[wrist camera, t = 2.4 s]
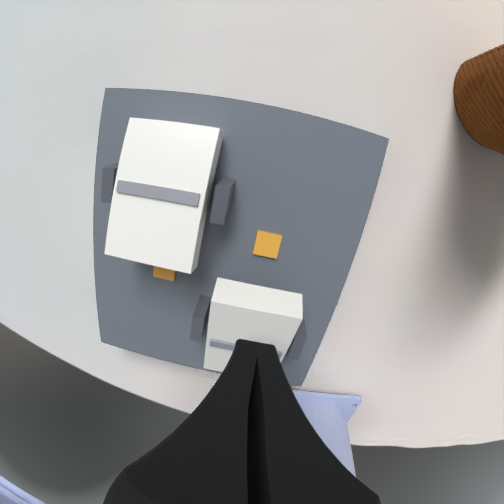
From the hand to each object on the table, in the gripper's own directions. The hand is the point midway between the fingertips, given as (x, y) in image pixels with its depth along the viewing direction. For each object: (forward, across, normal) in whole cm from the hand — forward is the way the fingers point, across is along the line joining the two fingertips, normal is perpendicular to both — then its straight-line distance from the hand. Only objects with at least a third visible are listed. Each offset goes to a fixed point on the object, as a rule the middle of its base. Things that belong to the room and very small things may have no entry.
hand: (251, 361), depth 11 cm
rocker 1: (+4, +5, -4) cm, 8 cm away
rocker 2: (+4, 0, +2) cm, 5 cm away
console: (+9, +2, -1) cm, 9 cm away
